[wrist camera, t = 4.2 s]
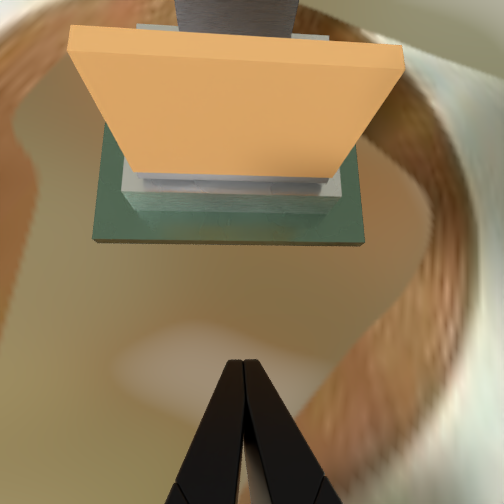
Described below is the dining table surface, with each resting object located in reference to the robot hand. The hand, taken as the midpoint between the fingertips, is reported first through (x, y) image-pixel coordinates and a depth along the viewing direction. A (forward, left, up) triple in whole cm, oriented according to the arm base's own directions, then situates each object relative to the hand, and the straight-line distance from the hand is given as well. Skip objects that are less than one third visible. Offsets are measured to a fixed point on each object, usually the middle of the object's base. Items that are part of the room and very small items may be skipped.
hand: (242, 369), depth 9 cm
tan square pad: (+9, +3, -8) cm, 13 cm away
